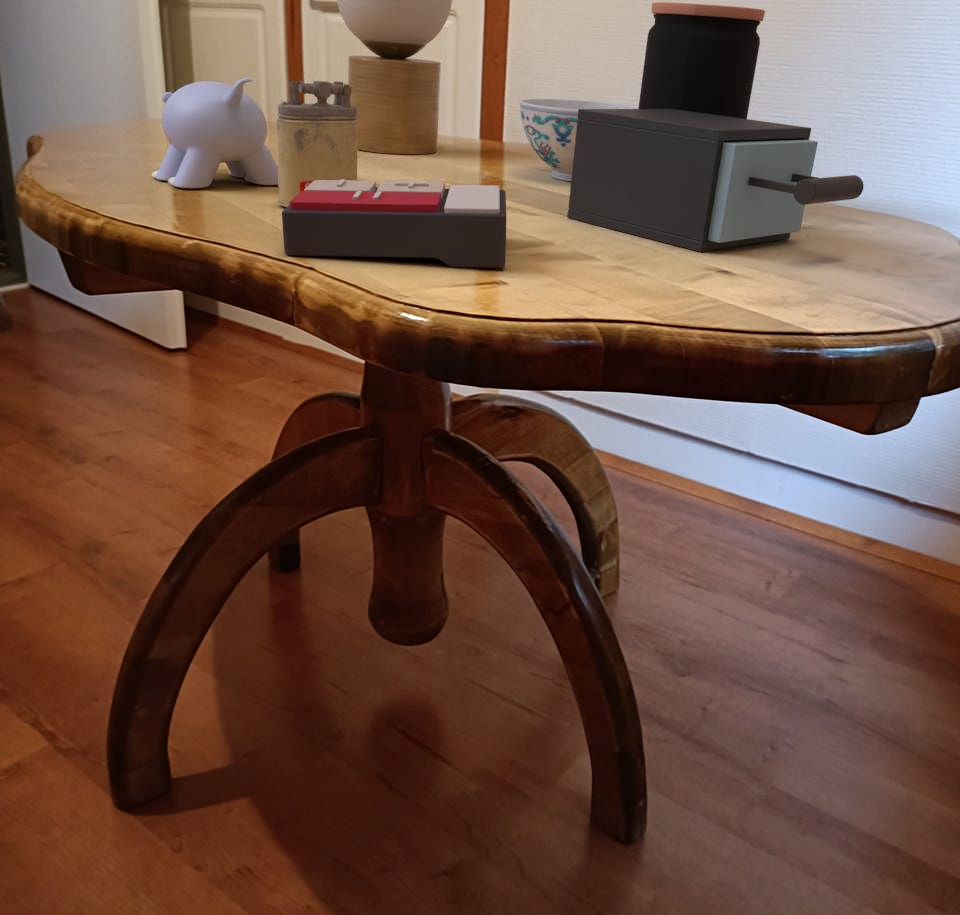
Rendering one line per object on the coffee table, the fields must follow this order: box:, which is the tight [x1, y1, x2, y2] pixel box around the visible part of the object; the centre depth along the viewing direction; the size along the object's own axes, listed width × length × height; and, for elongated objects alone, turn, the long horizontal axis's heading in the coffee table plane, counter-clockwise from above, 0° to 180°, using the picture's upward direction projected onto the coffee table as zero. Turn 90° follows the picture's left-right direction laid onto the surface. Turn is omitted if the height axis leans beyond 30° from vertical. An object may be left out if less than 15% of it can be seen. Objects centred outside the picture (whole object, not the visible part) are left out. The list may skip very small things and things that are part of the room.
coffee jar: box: [638, 1, 766, 119], centre depth 95 cm, size 11×11×18 cm
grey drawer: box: [708, 139, 864, 243], centre depth 79 cm, size 19×11×7 cm, turn 41°
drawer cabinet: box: [567, 109, 812, 253], centre depth 82 cm, size 15×13×9 cm
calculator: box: [281, 179, 507, 269], centre depth 69 cm, size 11×4×15 cm
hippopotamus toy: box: [151, 77, 278, 189], centre depth 89 cm, size 11×15×10 cm
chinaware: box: [519, 98, 639, 182], centre depth 106 cm, size 15×15×8 cm
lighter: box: [276, 80, 358, 208], centre depth 80 cm, size 7×4×10 cm, turn 125°
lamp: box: [336, 0, 453, 155], centre depth 118 cm, size 15×14×25 cm
